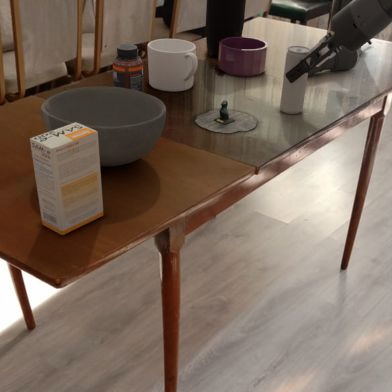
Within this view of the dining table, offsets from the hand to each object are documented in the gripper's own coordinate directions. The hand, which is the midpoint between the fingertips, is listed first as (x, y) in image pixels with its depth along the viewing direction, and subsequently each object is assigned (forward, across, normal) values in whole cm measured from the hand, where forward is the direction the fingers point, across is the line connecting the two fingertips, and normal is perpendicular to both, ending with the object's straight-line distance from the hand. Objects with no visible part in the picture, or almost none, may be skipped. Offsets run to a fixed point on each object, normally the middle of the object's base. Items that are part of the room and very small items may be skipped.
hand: (295, 73), depth 126 cm
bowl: (+20, +40, -9) cm, 45 cm away
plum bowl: (+18, -20, -8) cm, 28 cm away
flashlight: (+6, -30, +5) cm, 31 cm away
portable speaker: (+25, -28, -14) cm, 40 cm away
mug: (+25, -1, -14) cm, 28 cm away
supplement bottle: (+27, +15, -16) cm, 34 cm away
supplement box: (+15, +60, -4) cm, 62 cm away
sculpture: (+12, +12, -1) cm, 17 cm away
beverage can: (+5, 0, +6) cm, 8 cm away
